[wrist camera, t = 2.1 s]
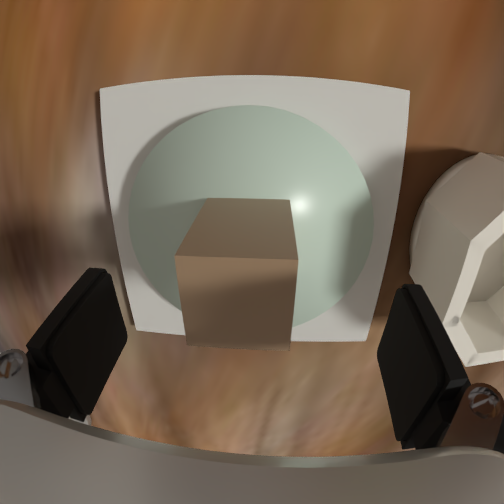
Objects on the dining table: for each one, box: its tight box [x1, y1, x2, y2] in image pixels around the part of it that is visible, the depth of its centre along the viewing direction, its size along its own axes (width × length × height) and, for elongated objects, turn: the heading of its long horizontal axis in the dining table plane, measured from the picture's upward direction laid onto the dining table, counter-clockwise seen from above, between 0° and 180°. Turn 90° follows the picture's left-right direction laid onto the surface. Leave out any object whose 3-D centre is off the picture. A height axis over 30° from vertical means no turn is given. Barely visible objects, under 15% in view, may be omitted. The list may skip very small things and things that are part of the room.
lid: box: [128, 105, 374, 351], centre depth 14 cm, size 13×13×7 cm
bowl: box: [409, 152, 504, 367], centre depth 15 cm, size 11×11×6 cm
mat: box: [100, 75, 410, 341], centre depth 18 cm, size 16×16×1 cm
